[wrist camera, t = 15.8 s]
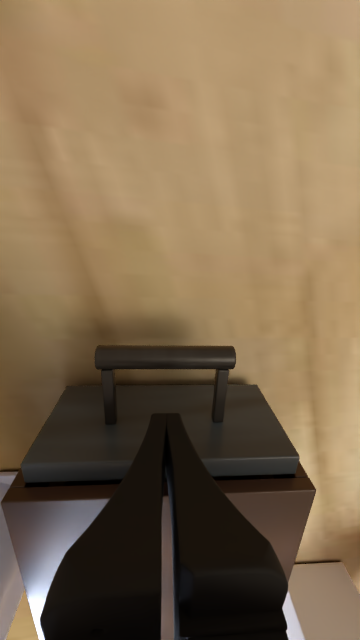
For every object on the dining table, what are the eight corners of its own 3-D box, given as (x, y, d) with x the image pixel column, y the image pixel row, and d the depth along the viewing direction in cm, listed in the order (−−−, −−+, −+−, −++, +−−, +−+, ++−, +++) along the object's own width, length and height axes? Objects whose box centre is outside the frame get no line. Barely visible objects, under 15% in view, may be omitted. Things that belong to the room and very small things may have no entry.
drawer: (58, 321, 16) (-1, 376, 10) (266, 323, 17) (321, 375, 11) (83, 511, 22) (54, 616, 16) (237, 504, 23) (263, 601, 17)
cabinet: (63, 392, 19) (-1, 502, 11) (258, 390, 20) (317, 490, 12) (81, 518, 23) (43, 656, 16) (238, 511, 24) (272, 637, 17)
